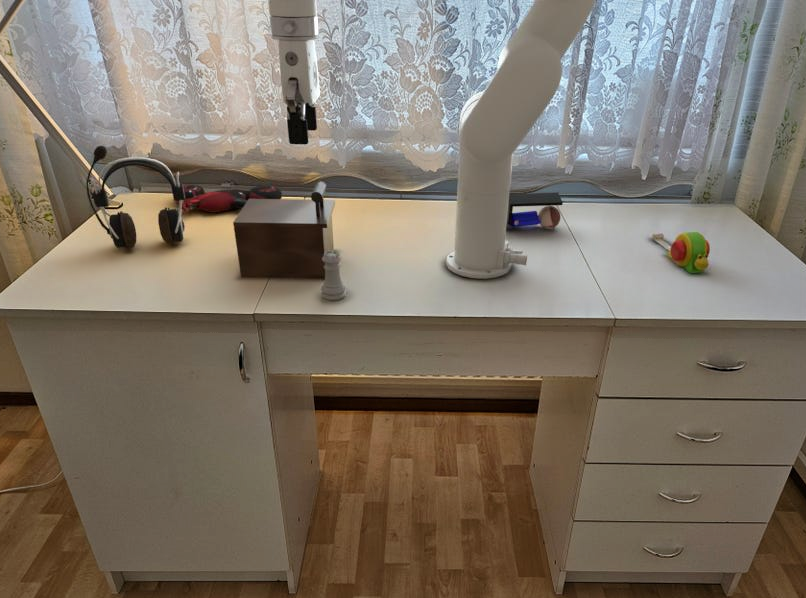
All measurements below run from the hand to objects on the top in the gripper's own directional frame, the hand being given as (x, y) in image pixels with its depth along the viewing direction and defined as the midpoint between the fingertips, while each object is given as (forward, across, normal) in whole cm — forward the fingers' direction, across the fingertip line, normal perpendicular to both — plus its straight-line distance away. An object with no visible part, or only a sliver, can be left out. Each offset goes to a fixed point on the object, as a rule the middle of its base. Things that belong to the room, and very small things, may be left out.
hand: (303, 136), depth 115 cm
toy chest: (+23, -2, +4) cm, 24 cm away
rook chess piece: (+24, -15, -6) cm, 29 cm away
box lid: (+14, -2, +4) cm, 14 cm away
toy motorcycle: (+24, +28, +25) cm, 44 cm away
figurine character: (+24, +20, -44) cm, 53 cm away
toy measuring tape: (+24, +5, -73) cm, 77 cm away
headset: (+24, +5, +34) cm, 41 cm away
